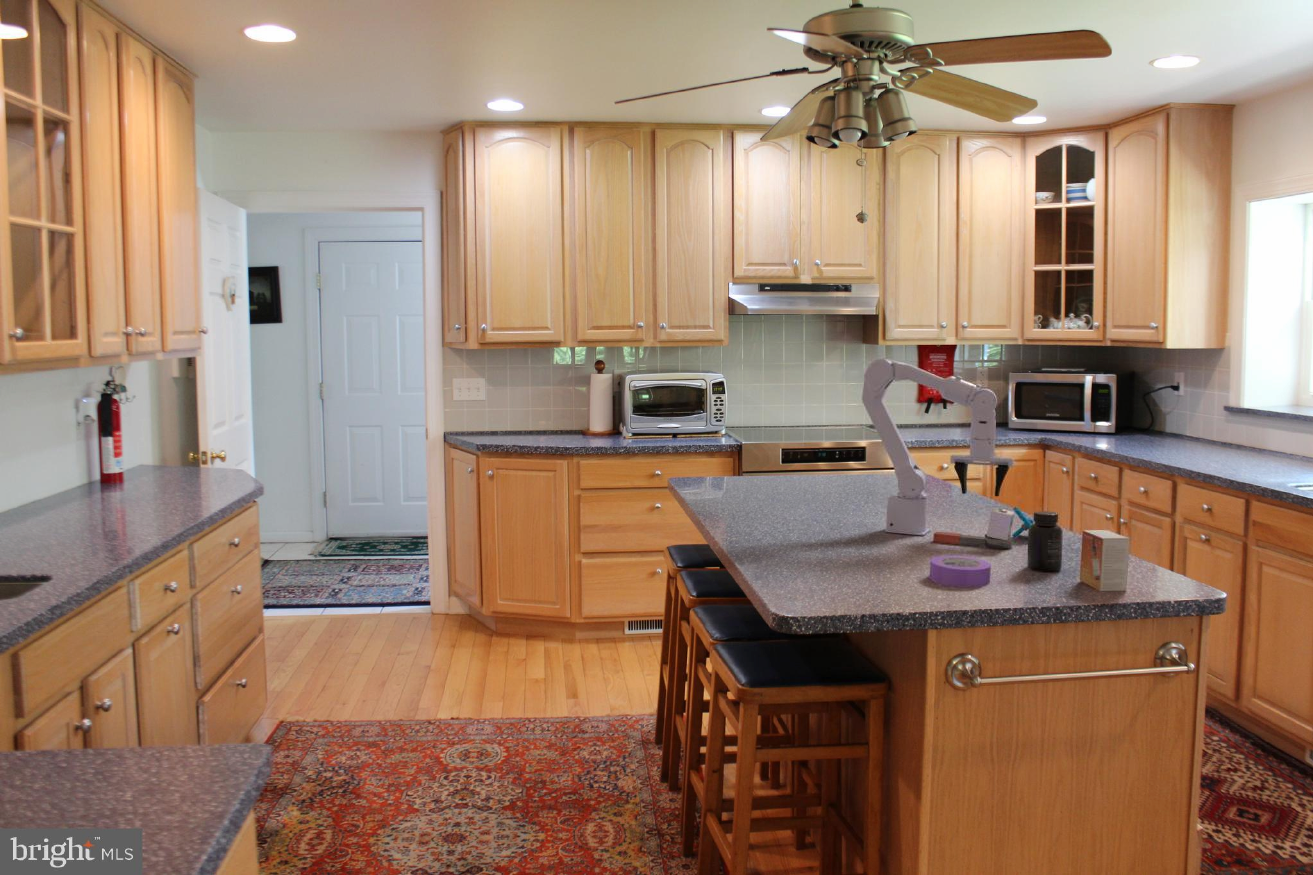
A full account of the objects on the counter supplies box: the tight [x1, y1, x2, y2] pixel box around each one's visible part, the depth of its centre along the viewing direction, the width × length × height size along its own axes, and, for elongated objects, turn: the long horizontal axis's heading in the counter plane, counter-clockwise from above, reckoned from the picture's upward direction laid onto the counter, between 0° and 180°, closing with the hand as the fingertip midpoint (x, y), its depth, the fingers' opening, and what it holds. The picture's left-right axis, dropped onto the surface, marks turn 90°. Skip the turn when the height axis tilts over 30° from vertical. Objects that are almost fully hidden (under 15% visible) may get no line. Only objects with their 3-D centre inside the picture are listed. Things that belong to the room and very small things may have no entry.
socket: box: [986, 507, 1016, 540], centre depth 233 cm, size 5×5×6 cm
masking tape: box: [929, 555, 992, 588], centre depth 203 cm, size 12×12×4 cm
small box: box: [1079, 529, 1131, 592], centre depth 198 cm, size 8×6×10 cm
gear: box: [1011, 506, 1035, 539], centre depth 244 cm, size 11×6×10 cm
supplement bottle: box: [1026, 510, 1064, 573], centre depth 212 cm, size 7×7×12 cm
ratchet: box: [932, 531, 1013, 551], centre depth 236 cm, size 18×6×5 cm, turn 63°
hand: (980, 494), depth 245 cm, fingers open, 7 cm apart
